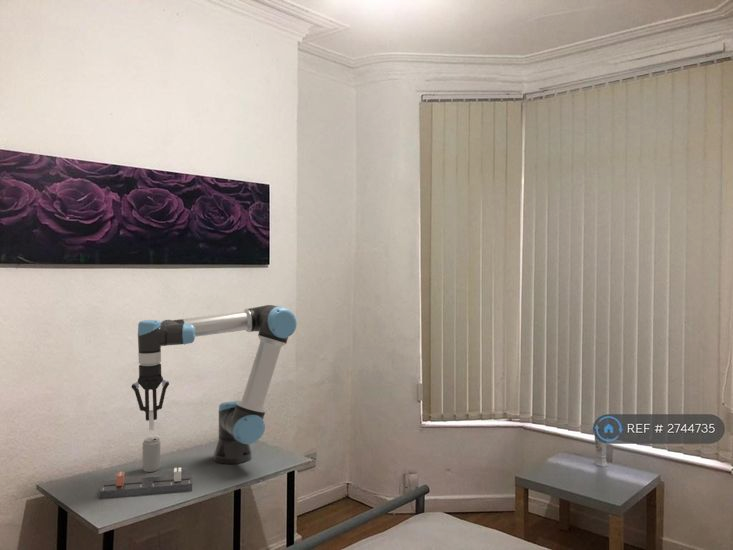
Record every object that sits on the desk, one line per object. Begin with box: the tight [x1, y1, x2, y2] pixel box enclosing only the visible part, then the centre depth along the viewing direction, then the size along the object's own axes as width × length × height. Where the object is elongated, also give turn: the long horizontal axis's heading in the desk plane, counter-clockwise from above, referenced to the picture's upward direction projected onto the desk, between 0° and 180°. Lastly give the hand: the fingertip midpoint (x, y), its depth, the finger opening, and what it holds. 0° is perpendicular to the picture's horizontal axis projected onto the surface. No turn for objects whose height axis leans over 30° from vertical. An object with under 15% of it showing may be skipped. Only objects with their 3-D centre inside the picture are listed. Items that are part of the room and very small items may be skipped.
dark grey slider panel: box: [98, 473, 193, 500], centre depth 211 cm, size 30×10×3 cm, turn 106°
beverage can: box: [142, 436, 161, 473], centre depth 231 cm, size 6×6×12 cm
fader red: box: [115, 471, 126, 486], centre depth 209 cm, size 2×4×4 cm, turn 16°
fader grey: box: [173, 466, 182, 482], centre depth 214 cm, size 2×4×4 cm, turn 16°
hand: (151, 428), depth 216 cm, fingers closed
